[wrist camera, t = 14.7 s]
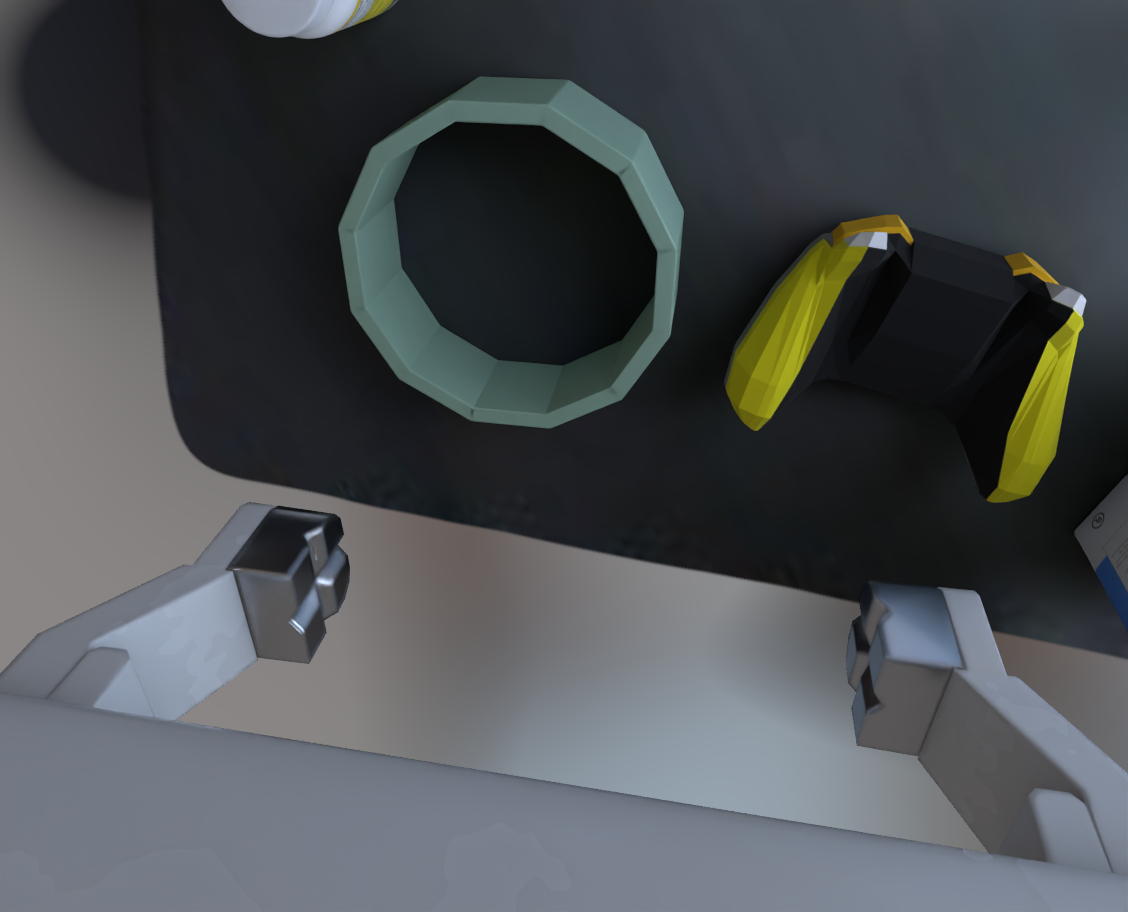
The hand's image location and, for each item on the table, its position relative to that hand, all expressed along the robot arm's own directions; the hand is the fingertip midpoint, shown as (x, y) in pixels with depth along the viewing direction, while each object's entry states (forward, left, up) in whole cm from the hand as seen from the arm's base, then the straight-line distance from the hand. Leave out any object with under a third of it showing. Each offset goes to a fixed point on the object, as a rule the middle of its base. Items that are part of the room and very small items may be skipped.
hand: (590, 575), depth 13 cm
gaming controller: (+8, +11, -29) cm, 32 cm away
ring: (+5, -7, -29) cm, 30 cm away
